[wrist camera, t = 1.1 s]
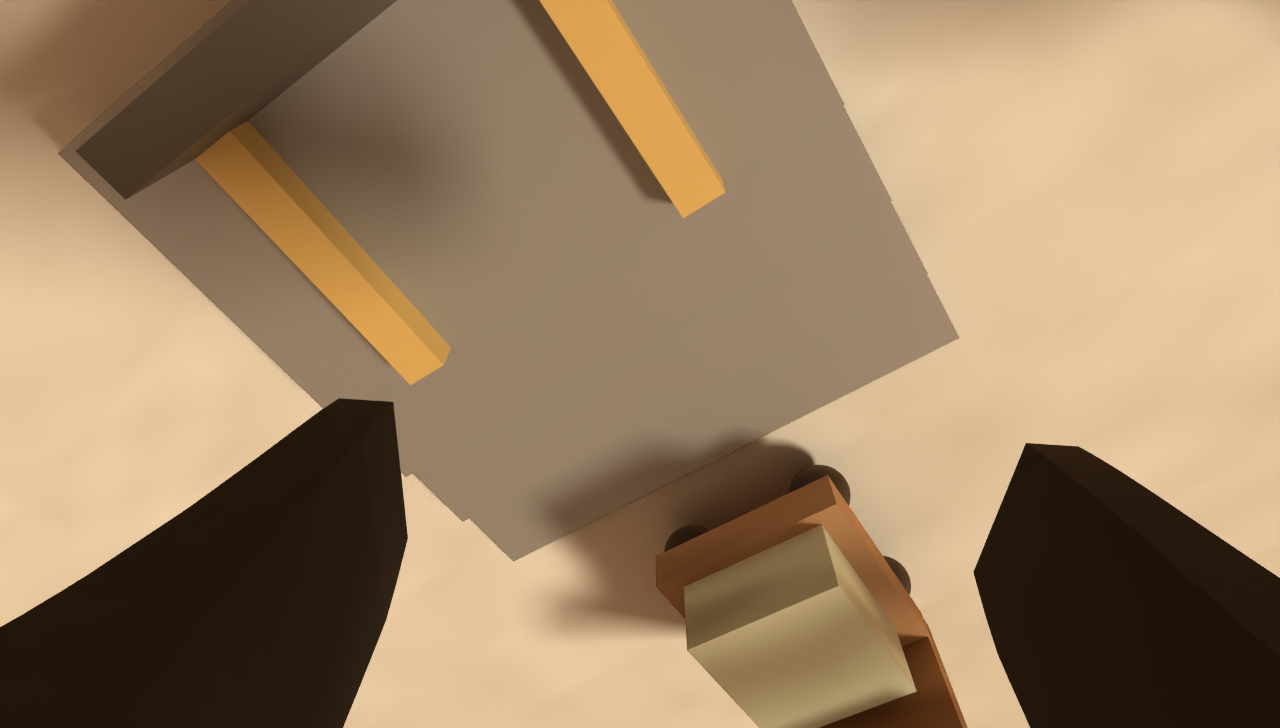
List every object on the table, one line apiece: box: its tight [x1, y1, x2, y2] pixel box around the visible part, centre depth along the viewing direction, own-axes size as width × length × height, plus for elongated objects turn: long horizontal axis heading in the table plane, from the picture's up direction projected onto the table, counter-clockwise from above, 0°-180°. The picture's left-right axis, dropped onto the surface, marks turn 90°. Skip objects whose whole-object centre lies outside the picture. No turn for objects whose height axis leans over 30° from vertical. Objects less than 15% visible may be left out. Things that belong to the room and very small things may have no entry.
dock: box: [58, 0, 959, 561], centre depth 17 cm, size 15×14×4 cm
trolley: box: [656, 465, 967, 728], centre depth 20 cm, size 6×6×7 cm
